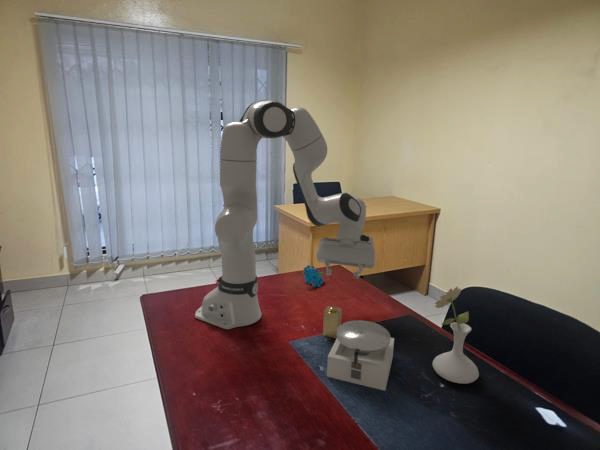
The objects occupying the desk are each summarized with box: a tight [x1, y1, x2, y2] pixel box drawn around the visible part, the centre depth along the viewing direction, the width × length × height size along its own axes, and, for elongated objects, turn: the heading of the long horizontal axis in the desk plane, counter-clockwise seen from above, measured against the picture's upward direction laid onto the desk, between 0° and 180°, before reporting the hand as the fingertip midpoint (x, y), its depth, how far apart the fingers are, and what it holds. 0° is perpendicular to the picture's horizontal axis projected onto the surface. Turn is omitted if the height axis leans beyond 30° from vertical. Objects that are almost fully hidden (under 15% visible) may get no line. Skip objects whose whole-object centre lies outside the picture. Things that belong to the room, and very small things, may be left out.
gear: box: [302, 264, 324, 288], centre depth 155 cm, size 11×6×10 cm
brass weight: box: [322, 305, 343, 339], centre depth 117 cm, size 4×4×9 cm
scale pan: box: [336, 319, 391, 367], centre depth 99 cm, size 14×16×6 cm
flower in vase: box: [432, 286, 480, 385], centre depth 96 cm, size 13×11×25 cm
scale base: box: [326, 337, 395, 392], centre depth 101 cm, size 15×15×6 cm
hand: (341, 275), depth 125 cm, fingers open, 8 cm apart
